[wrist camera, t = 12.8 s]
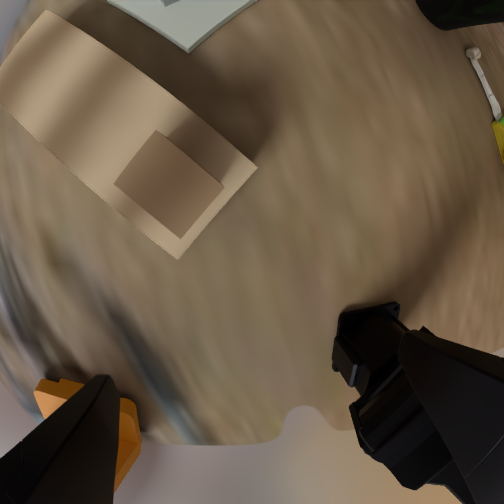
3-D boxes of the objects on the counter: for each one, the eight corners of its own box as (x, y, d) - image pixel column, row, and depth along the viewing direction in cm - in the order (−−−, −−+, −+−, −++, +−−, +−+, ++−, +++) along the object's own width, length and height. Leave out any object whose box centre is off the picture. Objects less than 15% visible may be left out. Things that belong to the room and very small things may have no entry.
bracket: (136, 393, 22) (119, 502, 11) (142, 434, 24) (135, 526, 13) (40, 371, 20) (-3, 458, 9) (57, 415, 22) (30, 494, 11)
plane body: (249, 167, 18) (272, 168, 12) (181, 245, 19) (171, 284, 13) (61, 23, 12) (25, -10, 6) (8, 94, 13) (-42, 82, 7)
